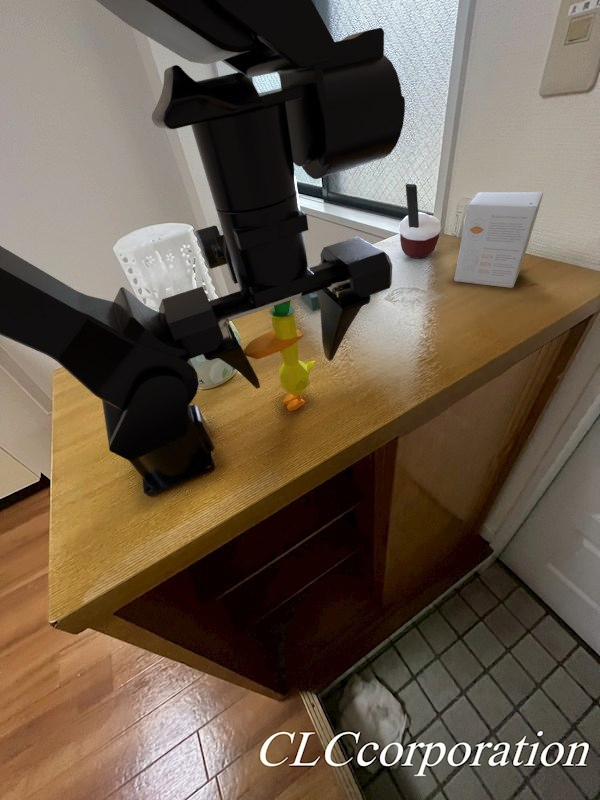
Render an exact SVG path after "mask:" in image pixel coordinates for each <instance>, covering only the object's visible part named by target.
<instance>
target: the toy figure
mask: <svg viewBox="0 0 600 800" xmlns="http://www.w3.org/2000/svg"><path fill="white" fill-rule="evenodd" d="M291 301H292V300H290V301H287V302H284V303H281V304H278V305H275V306H272V307H271V309H270V310H269V313H270V316H271V323H272V326H273V330H270V331H268V332H266V333H264V334H262V335H259V336H258V337H255V338H254V339H253V340H252V341H250V342H249V343H248V344H247V345H246V346H245V347H244V349H243V351H244V352H245V354H246V356H247V358H252V359H255V360H260V359H262V358H266V357H268V356H271V355H274V354H276V353H280V356H281V358H282V362H283V363H282V364H281V366H280V367H279V369H278V374H279V380H280V385H281V389H283V390H284V391H285V392H287V393H288V394H287V395H285V397H284V399H283V400H282V403H283V404H284V405H285V406H286V408H287V410H288V411H289V412H291V411H295V410H298V409H299V408H301V407H303V405H305V404H306V401H305V400H304V399H303V398H302V396H301V395H302V394H304V392H306V390H307V388H309V386H310V385H311V384H310V376H309V375H310V374H311V371H312V369H313V367H314V365H315V363H316V360H312V361H308V362H303V361H301V360H300V359H299V341H300V340H301V339H302V338H303V337H304V334H303V333H302V332H301V331H300V330H299V329H298V328H297V326H296V324H297V323H296V319H295V311H296V310H295V308H294V307H293V306H291Z"/></svg>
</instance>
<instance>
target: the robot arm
mask: <svg viewBox="0 0 600 800" xmlns="http://www.w3.org/2000/svg"><path fill="white" fill-rule="evenodd" d="M95 1H96V2H97V3H98V4H99V5H101V6H102V7H104V8H105V9H107V11H109V12H110V13H112V14H113V15H114V16H116V17H117V18H118V19H120V20H121V21H122V22H124V23H125V24H127V25H128V26H129V27H131V28H133V29H134V30H136V31H138V32H139V33H140V34H143V35H144V36H146V37H148V38H149V39H151V40H153V41H154V42H155V43H157V44H158V45H161V46H162V47H163V48H166V49H168V50H169V51H170V52H171V53H174V54H175V55H177V56H179V57H181V58H182V59H184V60H186V61H188V62H190V63H195V64H201V65H210V64H214V63H218V62H221V63H223V64H225V65H226V66H228V67H229V68H231V69H233V70H234V71H236V72H233V73H230V74H225V75H220V76H215V77H211V78H206V79H200V80H197V81H196V80H194V79H193V78H192V77H191V76H190V75H189V74H188V73H187V72H186V71H184V70H183V69H184V68H182V67H181V66H180V65H177V64H174V65H172V66H170V67H168V68H166V69H164V72H163V84H162V90H161V94H160V97H159V99H158V101H157V104H156V105H155V108H154V110H153V111H152V113H151V120H152V123H153V124H154V125H155V126H156V127H157V128H159V129H167V130H177V129H180V128H185V127H188V126H191V131H192V133H193V136H194V139H195V144H196V147H197V150H198V153H199V157H200V160H201V163H202V167H203V170H204V173H205V178H206V180H207V183H208V187H209V191H210V193H211V197H212V201H213V204H214V208H215V211H216V214H217V217H218V221H219V224H220V228H221V232H222V234H221V232H220V230H219V227H218V226H217V225H211V226H208V227H205V228H201V229H198V230H195V232H194V233H195V235H196V238H197V242H198V244H199V247H200V250H201V253H202V256H203V258H204V261H205V264H206V267H207V268H208V269H209V270H211V269H216V268H218V267H221V266H225V265H226V266H227V269H228V272H229V276H230V279H231V280H232V282H233V284H234V285H237V284H238V288H239V291H235V292H232V293H229V294H226V295H224V296H220V297H216V298H214V299H211V300H209V297H208V295H207V293H206V291H205V289H204V287H203V285H202V286H199V287H196V288H193V289H189V290H187V291H183V292H180V293H177V294H174V295H171V296H168V297H164V298H161V302H160V304H159V307H158V310H155V309H152V308H151V307H149V306H147V305H146V304H144V303H143V302H142V301H141V300H140V299H138V297H137V296H135V295H134V294H133V293H132V292H131V291H129V290H128V289H127V288H126V287H123V286H122V287H119V289H118V292H117V294H116V296H115V298H114V300H113V301H111V300H108V299H104V298H100V297H95V296H91V295H88V294H85V293H83V292H80V291H78V290H76V289H75V288H73V287H71V286H70V285H68V284H66V283H64V282H63V281H61V280H59V279H57V278H56V277H54V276H52V275H51V274H49V273H48V272H46V271H44V270H42V269H40V268H38V267H37V266H35V265H33V264H32V263H31V262H28V261H27V260H26V259H24V258H22V257H21V256H18V255H17V254H15V253H13V252H11V251H10V250H8V249H7V248H5V247H3V246H2V245H0V336H2V337H4V338H7V339H9V340H11V341H14V342H16V343H18V344H20V345H23V346H24V347H27V348H30V349H32V350H34V351H36V352H39V353H41V354H43V355H46V356H47V357H49V358H50V359H52V360H54V361H55V362H57V363H58V364H59V365H60V366H61V367H62V368H63V369H65V370H66V371H67V372H68V373H69V375H71V376H73V377H74V378H75V379H76V380H77V381H78V382H79V383H81V385H83V387H85V388H86V389H87V390H88V391H89V392H90V393H91V394H93V395H94V396H95V397H97V398H98V399H101V402H102V409H103V415H104V423H105V430H106V436H107V443H108V449H109V451H110V452H111V453H113V454H115V455H117V456H119V457H121V458H123V459H125V460H127V461H128V462H129V463H130V464H131V465H132V466H133V468H134V469H135V470H136V471H137V473H138V474H139V475H140V476H141V478H142V487H143V494H144V495H145V496H146V497H152V496H155V495H158V494H161V493H163V492H165V491H167V490H170V489H173V488H175V487H178V486H180V485H182V484H183V485H184V484H185V483H188V482H190V481H193V480H195V479H198V478H200V477H202V476H205V475H208V474H210V473H212V472H213V471H215V469H216V464H215V460H214V456H213V453H212V452H214V450H215V445H214V441H213V437H212V434H211V430H210V428H209V426H208V424H207V423H206V420H205V418H204V416H203V413H202V411H201V410H200V408H199V405H198V404H197V405H196V404H191V403H192V402H193V400H194V399H195V397H196V395H197V393H198V389H199V384H200V383H199V375H198V372H197V370H196V368H195V366H194V364H193V362H192V361H191V359H194V358H197V357H200V356H202V355H203V358H204V359H205V360H207V361H213V360H216V359H219V360H221V361H222V362H224V363H225V364H227V365H228V366H230V367H232V368H233V369H234V370H236V371H237V372H238V373H239V374H241V375H242V376H243V378H244V379H246V380H247V382H249V383H250V384H251V385H252V386H253V388H255V389H256V390H258V389H260V388H261V384H260V381H259V380H260V379H259V378H258V376H257V374H256V371H255V370H254V368H253V365H252V364H251V362H250V360H249V357H248V356H246V354H245V352H244V349H243V347H242V345H241V343H240V341H239V339H238V337H237V335H236V334H235V331H234V330H233V327H232V326H231V324H230V322H231V321H235V320H237V319H240V318H243V317H246V316H249V315H252V314H255V313H257V312H260V311H263V310H266V309H270V308H273V307H274V306H275V305H278V304H281V303H284V302H287V301H290V300H291V301H292V300H295V299H298V298H300V297H301V296H304V295H307V294H310V293H313V292H317V296H318V299H319V303H320V310H319V311H320V327H321V341H322V348H323V353H324V357H325V358H326V359H327V361H328V362H331V361H333V360H334V358H335V356H336V354H337V352H338V350H339V348H340V346H341V344H342V342H343V340H344V338H345V336H346V334H347V332H348V330H349V329H350V328H351V327H350V326H351V325H352V324H353V322H354V321H355V319H356V318H357V316H358V314H359V313H360V311H361V309H362V307H364V306H366V305H368V304H370V303H371V296H372V295H374V294H377V293H380V292H382V291H386V290H388V289H391V286H392V283H393V263H392V260H391V258H390V255H388V253H387V252H385V250H383V249H380V248H379V247H377V246H375V245H374V244H371V243H370V242H368V241H366V240H364V239H362V238H361V237H359V236H355V237H352V238H349V239H346V240H342V241H339V242H336V243H333V244H330V245H327V246H324V247H322V249H321V252H320V254H319V255H320V256H319V257H320V262H319V263H318V265H314V266H311V267H309V264H308V255H307V249H306V241H305V235H304V233H305V232H307V231H309V223H308V214H307V213H305V212H304V211H302V210H301V207H300V206H301V205H300V198H299V191H298V186H297V185H298V183H297V179H296V177H297V176H296V170H295V166H297V167H299V168H300V167H301V168H302V170H303V171H304V172H305V174H306V175H307V176H308V177H310V178H312V179H314V180H319V179H323V178H326V177H330V176H332V175H335V174H339V173H341V172H345V171H347V170H350V169H354V168H357V167H360V166H363V165H367V164H369V163H373V162H376V161H379V160H382V159H385V158H387V157H388V156H390V155H391V154H392V152H393V151H394V149H395V148H396V146H397V144H398V142H399V140H400V138H401V135H402V131H403V127H404V121H405V115H406V114H405V113H406V98H405V96H403V94H402V93H403V92H402V86H401V82H400V79H399V75H398V72H397V70H396V68H395V66H394V64H393V62H391V60H390V59H389V58H388V57H387V56H386V55H385V31H384V29H383V28H382V27H378V28H371V29H367V30H364V31H360V32H357V33H352V34H349V35H347V36H346V37H344V38H343V39H341V40H338V41H335V40H334V37H333V36H332V34H331V33H330V31H329V28H328V27H327V25H326V23H325V22H324V20H323V18H322V16H321V14H320V12H319V11H318V8H317V6H316V5H315V3H314V2H313V0H95ZM275 73H277V74H278V76H279V81H280V88H276V89H275V88H274V89H271V90H267V91H262V92H258V89H257V88H256V86H255V85H254V83H253V81H252V80H251V79H250V78H254V77H259V76H264V75H270V74H275Z"/></svg>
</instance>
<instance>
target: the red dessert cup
mask: <svg viewBox="0 0 600 800" xmlns="http://www.w3.org/2000/svg"><path fill="white" fill-rule="evenodd" d="M405 197H406V207H407V208H406V209H407V215H406V216H405V217H403V219H402V220H401V221H400V222H399V226H398V232H399V233H400V234H399V241H400V246H401V250H402V251H403V254H404V255H406V256H407V257H409V258H410V259H412V258H413V259H423V258H426V257H427V256H430V254H432V253H433V252H434V251H435V248H436V246H437V244H438V241H439V239H440V233H441V230H442V224H441V222H440V221H439V219H438V218H437V217H436V216H434V215H431V214H428V213H426V212H421V211H419V204H418V201H419V199H418V186H417V185H416V184H415V183H406V184H405Z"/></svg>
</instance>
